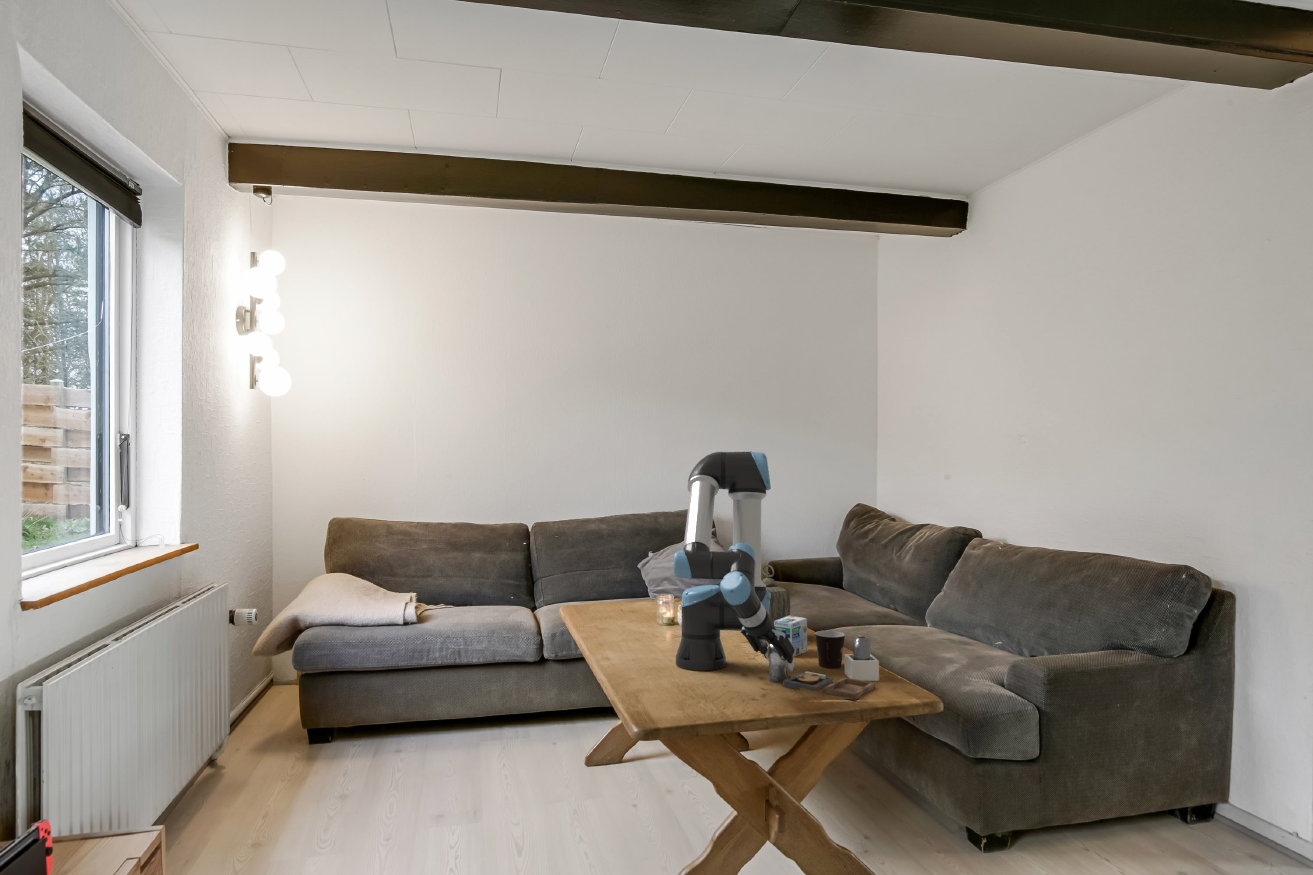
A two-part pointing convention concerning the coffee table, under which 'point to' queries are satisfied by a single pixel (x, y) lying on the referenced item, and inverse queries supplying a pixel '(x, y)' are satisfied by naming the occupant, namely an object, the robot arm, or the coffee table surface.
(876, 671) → the white square box
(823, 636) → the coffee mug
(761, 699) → the coffee table surface
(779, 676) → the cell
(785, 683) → the base
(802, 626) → the light bulb box
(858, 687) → the brown wooden tray
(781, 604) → the tabletop clock
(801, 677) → the brown flat disc
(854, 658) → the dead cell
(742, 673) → the coffee table surface
